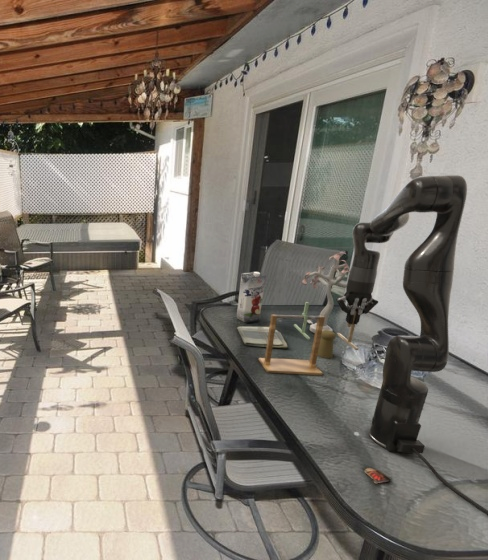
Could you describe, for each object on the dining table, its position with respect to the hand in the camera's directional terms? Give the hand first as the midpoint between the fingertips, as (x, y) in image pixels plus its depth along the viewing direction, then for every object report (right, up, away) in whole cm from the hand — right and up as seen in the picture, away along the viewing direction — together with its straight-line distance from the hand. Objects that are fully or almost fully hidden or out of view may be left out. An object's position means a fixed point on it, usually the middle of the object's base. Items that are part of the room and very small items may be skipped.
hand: (351, 323), depth 130 cm
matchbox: (-24, -35, -38) cm, 57 cm away
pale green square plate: (-14, -12, +37) cm, 41 cm away
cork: (+5, -16, +21) cm, 27 cm away
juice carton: (-10, -6, +58) cm, 59 cm away
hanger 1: (-14, +2, +6) cm, 15 cm away
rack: (-16, -19, +12) cm, 28 cm away
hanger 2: (0, -1, 0) cm, 1 cm away
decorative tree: (+18, -9, +45) cm, 49 cm away
